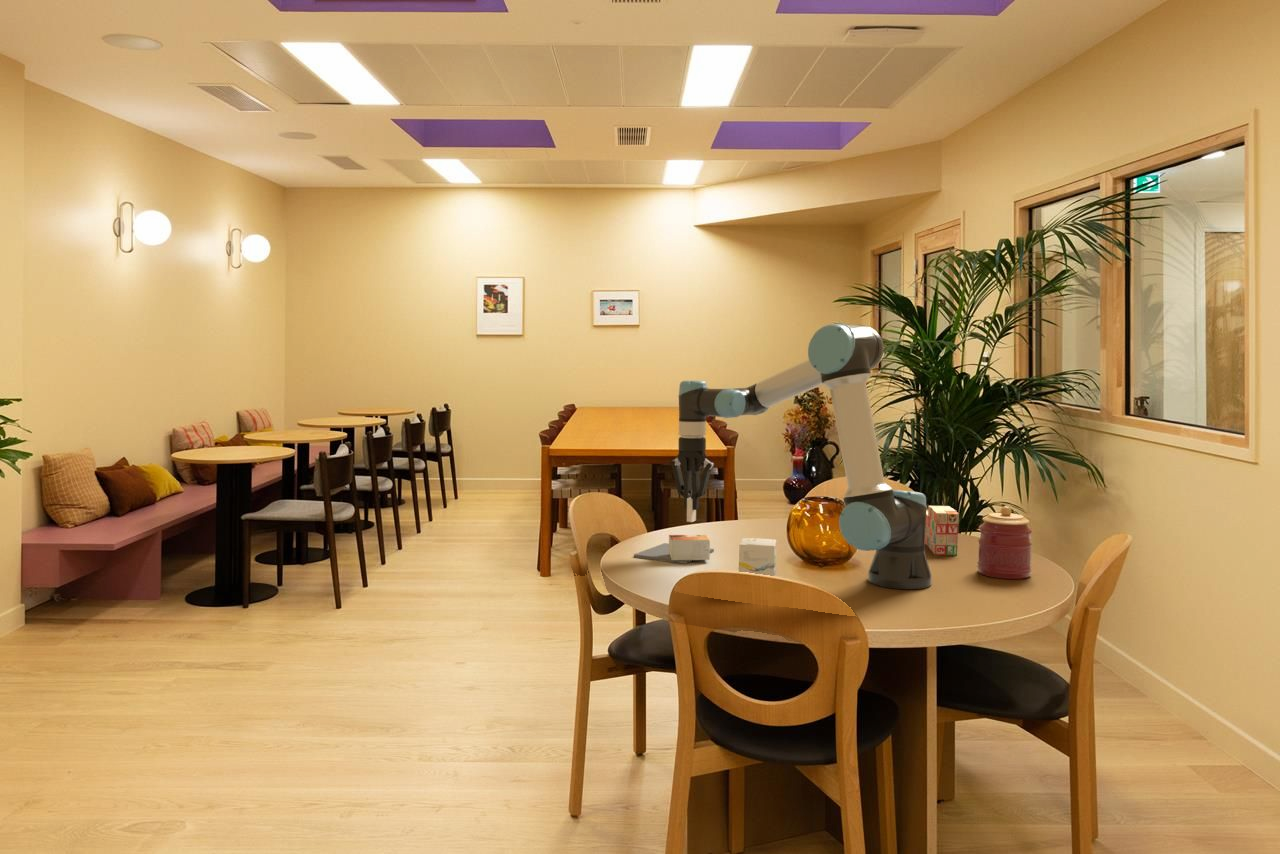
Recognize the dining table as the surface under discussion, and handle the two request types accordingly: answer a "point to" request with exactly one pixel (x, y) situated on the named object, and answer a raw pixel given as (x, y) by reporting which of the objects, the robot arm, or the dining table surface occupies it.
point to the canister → (1005, 545)
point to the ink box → (758, 556)
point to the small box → (689, 547)
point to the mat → (660, 554)
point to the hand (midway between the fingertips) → (691, 521)
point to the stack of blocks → (942, 530)
